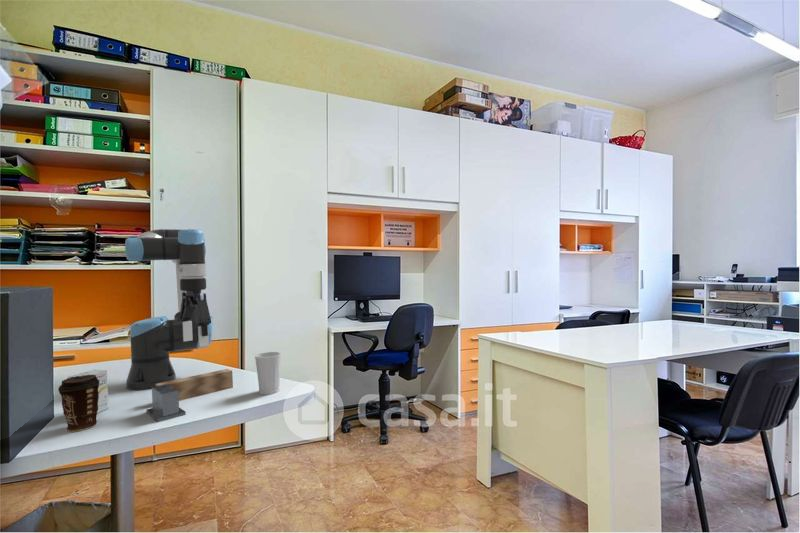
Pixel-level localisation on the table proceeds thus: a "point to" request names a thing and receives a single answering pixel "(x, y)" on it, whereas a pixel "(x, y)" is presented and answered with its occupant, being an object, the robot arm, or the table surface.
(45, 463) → the table surface
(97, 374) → the ink box
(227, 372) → the walnut beam
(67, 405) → the coffee cup
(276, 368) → the cup
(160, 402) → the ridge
